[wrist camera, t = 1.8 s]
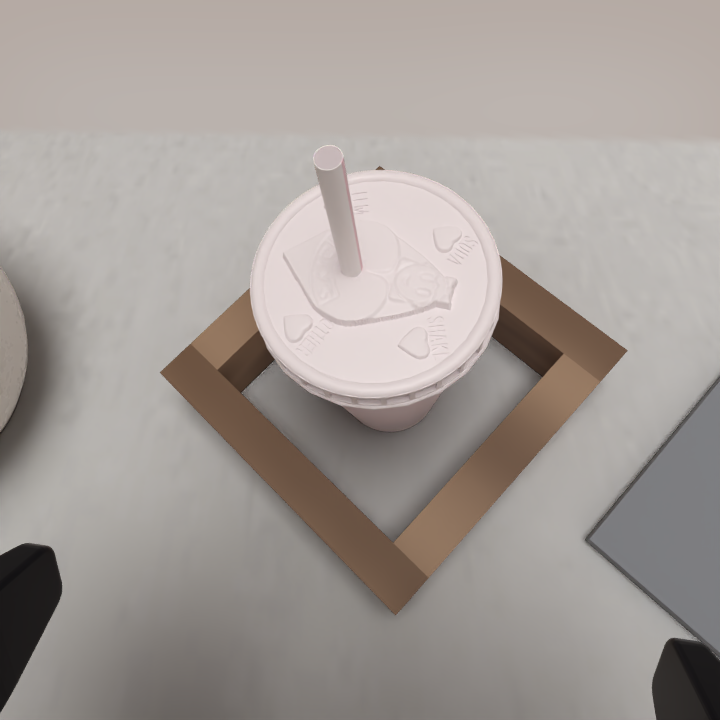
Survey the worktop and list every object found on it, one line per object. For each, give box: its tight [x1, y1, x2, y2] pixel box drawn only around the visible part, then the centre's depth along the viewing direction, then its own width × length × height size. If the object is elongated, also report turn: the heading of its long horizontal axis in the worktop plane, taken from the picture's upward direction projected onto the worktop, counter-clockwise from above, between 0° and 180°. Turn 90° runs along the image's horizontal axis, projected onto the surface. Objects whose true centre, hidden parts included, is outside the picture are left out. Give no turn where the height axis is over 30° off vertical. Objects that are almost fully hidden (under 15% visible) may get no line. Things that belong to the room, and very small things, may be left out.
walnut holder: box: [160, 166, 628, 615], centre depth 23 cm, size 12×12×3 cm
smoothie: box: [250, 145, 502, 432], centre depth 17 cm, size 6×6×14 cm
